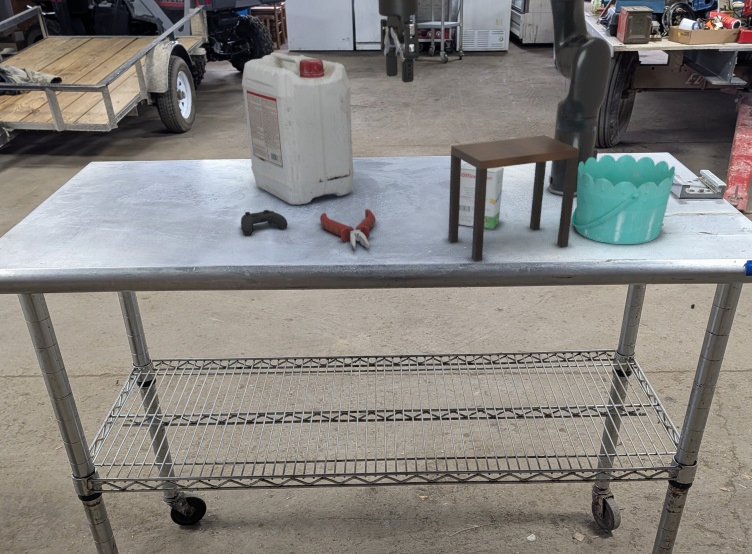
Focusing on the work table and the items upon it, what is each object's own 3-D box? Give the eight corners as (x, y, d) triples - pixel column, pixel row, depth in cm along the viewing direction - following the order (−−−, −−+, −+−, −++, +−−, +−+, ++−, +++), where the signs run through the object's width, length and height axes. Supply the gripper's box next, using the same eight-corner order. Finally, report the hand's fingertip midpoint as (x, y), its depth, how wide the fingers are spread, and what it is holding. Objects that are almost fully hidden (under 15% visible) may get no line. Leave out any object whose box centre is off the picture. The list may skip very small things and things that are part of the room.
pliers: (332, 256, 137) (332, 243, 135) (319, 223, 153) (318, 211, 152) (391, 251, 139) (391, 238, 137) (371, 218, 155) (371, 207, 154)
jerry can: (362, 195, 170) (357, 57, 154) (292, 210, 161) (279, 66, 145) (312, 173, 187) (303, 47, 171) (247, 186, 178) (231, 54, 162)
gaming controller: (245, 233, 146) (236, 207, 147) (241, 245, 151) (233, 219, 152) (289, 225, 150) (280, 199, 151) (284, 237, 155) (276, 212, 156)
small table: (535, 227, 149) (544, 135, 139) (567, 246, 139) (579, 149, 129) (448, 240, 143) (451, 145, 133) (475, 261, 134) (480, 161, 124)
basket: (661, 251, 136) (674, 183, 129) (564, 241, 142) (571, 176, 135) (665, 219, 151) (677, 157, 144) (576, 211, 157) (584, 151, 150)
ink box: (454, 224, 151) (456, 168, 145) (462, 217, 155) (464, 161, 149) (493, 229, 148) (496, 172, 142) (500, 222, 152) (504, 165, 146)
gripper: (431, -13, 131) (431, 82, 139) (402, -16, 142) (403, 72, 151) (393, -11, 128) (395, 86, 137) (366, -14, 140) (370, 75, 148)
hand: (399, 78), depth 144 cm, fingers open, 8 cm apart
